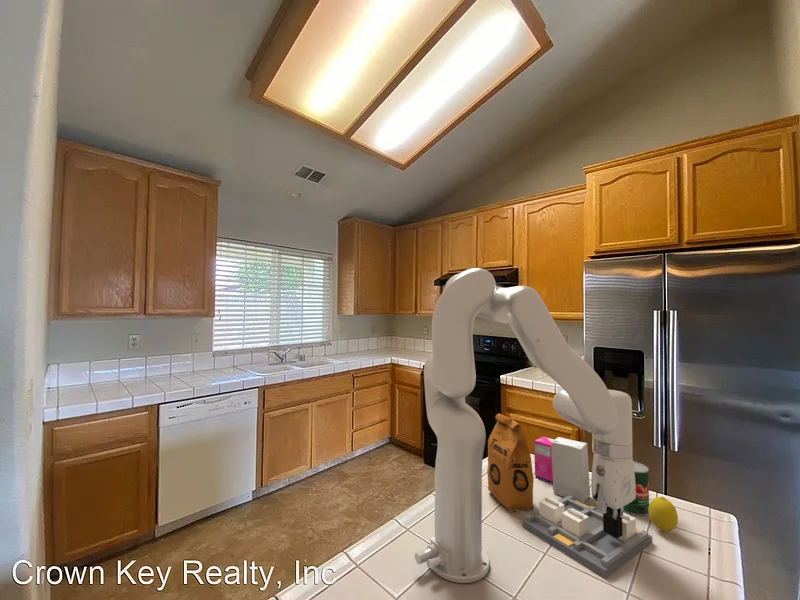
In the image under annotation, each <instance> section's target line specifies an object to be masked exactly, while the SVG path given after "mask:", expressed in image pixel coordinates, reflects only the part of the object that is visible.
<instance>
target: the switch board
mask: <svg viewBox="0 0 800 600" xmlns="http://www.w3.org/2000/svg"><path fill="white" fill-rule="evenodd" d="M557 501H558V502H560V503H562V504H564V505H565V511H567V509H569V508H570V509H571V508H573V509H575V510H577V511H579V512H581V513H583V514H585V515H587V516H589V533H588V534H587V535H585V536H583V537H582V538H578V537H577V536H575V535H573V534H571V533H570V532H568V531H566V530H564V529H562V521H561V522H559V523H557V524H554V523H552V522H550V521H548V520H547V519H545V518H543V517H541V516H539V509H537V510H535V511H533V512H531V513H529V514H527V515H526V516H525V517H526V518H525V519H522V528H523V529H526V530H527V531H528V532H530V533H532V534H533V535H535V536H536V537H538V538H540V539H541V540H543V541H545V542H546V543H548V544H550V546H552V547H554V548H556V549H557V550H559V551H560V552H562V553H564V554H565V555H567V556H568V557H570V558H572V559H573V560H574V561H576V562H578V563H579V564H581V565H583V566H585V567H586V568H588V569H589V570H590V571H593V572H594V573H596V574H597V575H599V576H600V577H602V578H604V579H605V580H606V579H608V577H610V576H611V575H613V574H614V573H616V571H618V570H619V569H620V568H622V567H623V566H624V565H626V564H627V563H628V562H629V561H631V560H632V559H633V558H635V557H636V556H637V555H639V554H640V553H642V552H643V551H644V550H645V549H647V548H648V547H649V546H650V545H652V544H653V536H652V535H650V533H649V531H647V530H645V529H642V530H639V529H638V528H636V535H635V536H634V537H632V538H631V539H630V540H628V541H627V542H624V541H622V540H620V539H618V538H616V537H614V536H612V535H610V534H608V533H606V532H604V530H603V513H601V512H599V511H597V509H596V508H597V506H596V507H595V506H593V505H590V506H589V505H587V504H586V503H581V502H579V501H577V500H575V499H573V497H572V496H570V495H569V496H567V497H563V498H561V499H559V500H557Z"/></svg>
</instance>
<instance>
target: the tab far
mask: <svg viewBox="0 0 800 600" xmlns="http://www.w3.org/2000/svg"><path fill="white" fill-rule="evenodd" d="M558 501H559V500H556V499H554V498H552V497H550V496H546V497H544V499H542V500H540V501H539V502H538V503H539V504H538V505H539V506H538V507H539V508H538V510H539V516H541V517H543V518H545V519H547V520H548V521H550V522H552V523H554V524H557V523H559V522H561V521H562V513H563V512H565V505H564V504H562V503H560V502H558Z"/></svg>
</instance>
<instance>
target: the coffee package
mask: <svg viewBox="0 0 800 600" xmlns="http://www.w3.org/2000/svg"><path fill="white" fill-rule="evenodd" d="M494 418H495V420H496V423H495V425H494V426H493V427H494V428H493V429H492V431H491V433H490V434H489V437H488V440H487V470H486V473H487V488H488V489H487V490H488V491H489V492H490V493H491V494H492V495H493V496H494V497H495V498H496V499H497V501H499V503H500V504H501V505H503V506H504V507H505V508H506V509H507V510H508V511H509V512H512V513H513V512H521V511H525V512H526V511H528V512H529V511H530V510H531V511H532V510H533V509H534V474H533V466H532V464H533V463H532V457H531V455H532V454H531V451H530V448H529V445H528V443H527V440H526V436H525V434H524V432H523V429H522V427H521V424H520V423H518V422H517V421H516V420H514V418H511V417H508V416H506V415H504V414H501V413H497V414H496V415H495V417H494Z"/></svg>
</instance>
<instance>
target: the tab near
mask: <svg viewBox="0 0 800 600" xmlns="http://www.w3.org/2000/svg"><path fill="white" fill-rule="evenodd" d="M620 517H621V516H620ZM636 522H637V521H636V517H633V516H631V515H630V514H628V513H627V514H626V513H624V512H623V516H622V536H621V537H619V538H618V539H620V540H622V541H624V542H627V541H628V540H630V539H631V538H632V537H634V536H635V535H636V529H637V528H636Z"/></svg>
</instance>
